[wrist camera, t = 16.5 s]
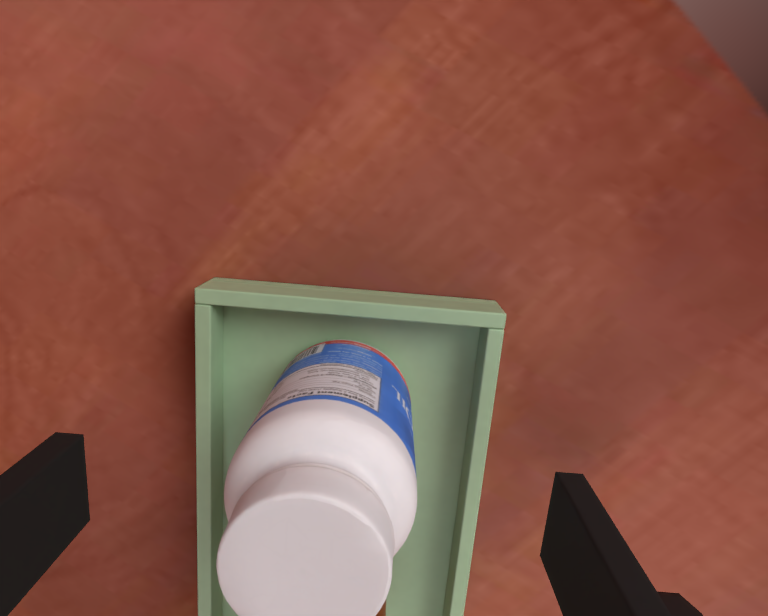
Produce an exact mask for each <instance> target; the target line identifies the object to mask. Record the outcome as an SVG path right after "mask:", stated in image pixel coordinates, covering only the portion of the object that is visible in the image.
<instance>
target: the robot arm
mask: <svg viewBox="0 0 768 616" xmlns="http://www.w3.org/2000/svg"><path fill="white" fill-rule="evenodd" d="M89 521H90V515H89V502H88V489H87V476H86V463H85V450H84V437H83V434H70V433H58V432H55V433H54V434H53V435H52V436H50V437H49V438H48V439H46V440H45V441H44V442H43V443H41V444H40V445H39V446H37V447H36V448H35V449H34V450H32V451H31V452H30V453H29V454H27V455H26V456H25V457H23V458H22V459H21V460H20V461H18V462H17V463H16V464H14V465H13V466H12V467H11V468H9V469H8V470H7V471H5V472H4V473H3V474H2V475H0V616H8V615H9V613H10V612H11V611H12V610H13V609H14V608H15V606H16V605H17V604H18V603H19V602H20V601H21V599H22V598H23V597H24V596H25V595H26V594H27V593H28V591H29V590H30V589H31V588H32V587H33V586H34V584H35V583H36V582H37V581H38V580H39V579H40V577H41V576H42V575H43V574H44V573H45V572H46V570H47V569H48V568H49V567H50V566H51V565H52V564H53V562H54V561H55V560H56V559H57V558H58V557H59V555H60V554H61V553H62V552H63V551H64V550H65V548H66V547H67V546H68V545H69V544H70V543H71V541H72V540H73V539H74V538H75V537H76V536H77V535H78V533H79V532H80V531H81V530H82V529H83V528H84V526H85V525H86V524H87V523H88V522H89ZM540 557H541V559H542V562H543V564H544V567H545V570H546V572H547V575H548V577H549V580H550V583H551V585H552V588H553V590H554V593H555V596H556V598H557V601H558V603H559V606H560V609H561V611H562V614H563V616H703V615H702V613H700V612H699V611H698V610H697V609H696V608H695V607H694V606H692V605H691V604H690V603H689V602H688V601H687V600H686V599H684V598H683V597H682V596H681V595H680V594H679V593H667V592H657V591H656V590H655V588H654V587H653V585H652V583H651V582H650V580H649V579H648V577H647V575H646V574H645V572H644V571H643V569H642V567H641V566H640V564H639V563H638V561H637V559H636V558H635V556H634V555H633V553H632V551H631V550H630V548H629V547H628V545H627V543H626V542H625V540H624V539H623V537H622V536H621V534H620V532H619V531H618V529H617V528H616V526H615V524H614V523H613V521H612V520H611V518H610V516H609V515H608V513H607V512H606V510H605V508H604V507H603V505H602V504H601V502H600V500H599V499H598V497H597V496H596V494H595V493H594V491H593V489H592V488H591V486H590V485H589V483H588V481H587V480H586V478H585V477H584V475H583V474H575V473H563V472H555V478H554V483H553V488H552V494H551V499H550V504H549V510H548V515H547V521H546V526H545V531H544V537H543V542H542V547H541V553H540Z"/></svg>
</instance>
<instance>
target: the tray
mask: <svg viewBox="0 0 768 616" xmlns="http://www.w3.org/2000/svg"><path fill="white" fill-rule="evenodd" d="M195 303H196V304H195V385H196V481H197V577H198V616H238V615H237V614H236V613H235V611H234V610H233V609H232V608H231V606H230V605H229V603H228V602H227V601H226V599H225V597H224V595H223V593H222V590H221V588H220V585H219V581H218V575H217V569H216V559H217V552H218V548H219V544H220V541H221V538H222V536H223V533H224V531H225V529H226V526H227V524H228V520H227V515H226V511H225V505H224V486H225V480H226V475H227V471H228V468H229V465H230V463H231V460H232V458H233V456H234V454H235V452H236V450H237V448H238V446H239V445H240V443H241V441H242V440H243V438H244V436H245V434H246V433H247V431H248V429H249V428H250V426H251V425H252V423H253V421H254V420H255V418H256V416H257V415H258V413H259V411H260V409H261V408H262V406H263V404H264V403H265V401H266V399H267V398H268V396H269V394H270V393H271V391H272V389H273V388H274V386H275V384H276V382H277V381H278V379H279V377H280V376H281V374H282V373H283V371H284V370H285V368H286V367H287V366H288V364H289V363H290V362H291V361H292V360H293V359H294V358H295V357H296V356H297V355H298V354H300V353H301V352H302V351H304V350H306V349H307V348H309V347H311V346H313V345H315V344H318V343H321V342H324V341H329V340H337V339H345V340H353V341H358V342H362V343H365V344H367V345H370V346H372V347H374V348H376V349H378V350H379V351H381V352H382V353H384V354H385V355H387V356H388V357H389V358H390V359H391V360H392V361H393V362H394V363H395V365H396V366H397V367H398V368H399V370H400V371H401V373H402V375H403V377H404V379H405V381H406V383H407V386H408V390H409V394H410V398H411V412H412V424H413V439H414V451H415V464H416V477H417V508H416V515H415V519H414V523H413V526H412V528H411V531H410V533H409V535H408V537H407V539H406V541H405V542H404V544H403V545H402V547H401V548H400V549H399V551H398V552H397V553H396V554H395V555H394V557H393V567H392V580H391V585H390V589H389V592H388V595H387V598H386V616H463V615H464V608H465V601H466V594H467V587H468V580H469V573H470V566H471V559H472V552H473V545H474V538H475V531H476V524H477V517H478V510H479V503H480V496H481V489H482V482H483V475H484V468H485V461H486V454H487V447H488V440H489V433H490V426H491V419H492V412H493V405H494V398H495V391H496V384H497V378H498V371H499V364H500V357H501V350H502V343H503V336H504V330H503V329H504V328H505V322H506V313H505V312H504V311H503V309H502V308H501V307H500V306H499V305H498V303H497V302H496V301H495V300H483V299H471V298H459V297H446V296H434V295H422V294H410V293H398V292H386V291H374V290H362V289H350V288H338V287H326V286H314V285H302V284H290V283H278V282H266V281H254V280H242V279H230V278H218V277H214V278H212V279H211V280H209V281H207V282H205V283H203V284H202V285H200V286H198V287H196V288H195Z"/></svg>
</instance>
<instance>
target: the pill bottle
mask: <svg viewBox="0 0 768 616" xmlns="http://www.w3.org/2000/svg"><path fill="white" fill-rule="evenodd" d="M224 505H225V511H226V515H227V520H228V524H227V526H226V529H225V531H224V533H223V536H222V538H221V541H220V544H219V548H218V552H217V559H216V569H217V575H218V581H219V585H220V588H221V590H222V593H223V595H224V597H225V599H226V601H227V602H228V603H229V605H230V606H231V608H232V609H233V610H234V611H235V613H236V614H237V615H238V616H376V615H377V613H378V612H379V610H380V609H381V607H382V605H383V604H384V602H385V600H386V598H387V595H388V592H389V589H390V585H391V580H392V567H393V557H394V555H395V554H396V553H397V552H398V551H399V549H400V548H401V547H402V545H403V544H404V542H405V541H406V539H407V537H408V535H409V533H410V531H411V528H412V526H413V523H414V519H415V515H416V508H417V477H416V464H415V451H414V439H413V424H412V412H411V398H410V394H409V390H408V386H407V383H406V381H405V379H404V377H403V375H402V373H401V371H400V370H399V368H398V367H397V366H396V365H395V363H394V362H393V361H392V360H391V359H390V358H389V357H388V356H387V355H385V354H384V353H382V352H381V351H379V350H378V349H376V348H374V347H372V346H370V345H367V344H365V343H362V342H358V341H353V340H345V339H337V340H329V341H324V342H321V343H318V344H315V345H313V346H311V347H309V348H307V349H306V350H304V351H302V352H301V353H300V354H298V355H297V356H296V357H295V358H294V359H293V360H292V361H291V362H290V363H289V364H288V366H287V367H286V368H285V370H284V371H283V373H282V374H281V376H280V377H279V379H278V381H277V382H276V384H275V386H274V388H273V389H272V391H271V393H270V394H269V396H268V398H267V399H266V401H265V403H264V404H263V406H262V408H261V409H260V411H259V413H258V415H257V416H256V418H255V420H254V421H253V423H252V425H251V426H250V428H249V429H248V431H247V433H246V434H245V436H244V438H243V440H242V441H241V443H240V445H239V446H238V448H237V450H236V452H235V454H234V456H233V458H232V460H231V463H230V465H229V468H228V471H227V475H226V480H225V486H224Z"/></svg>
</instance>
